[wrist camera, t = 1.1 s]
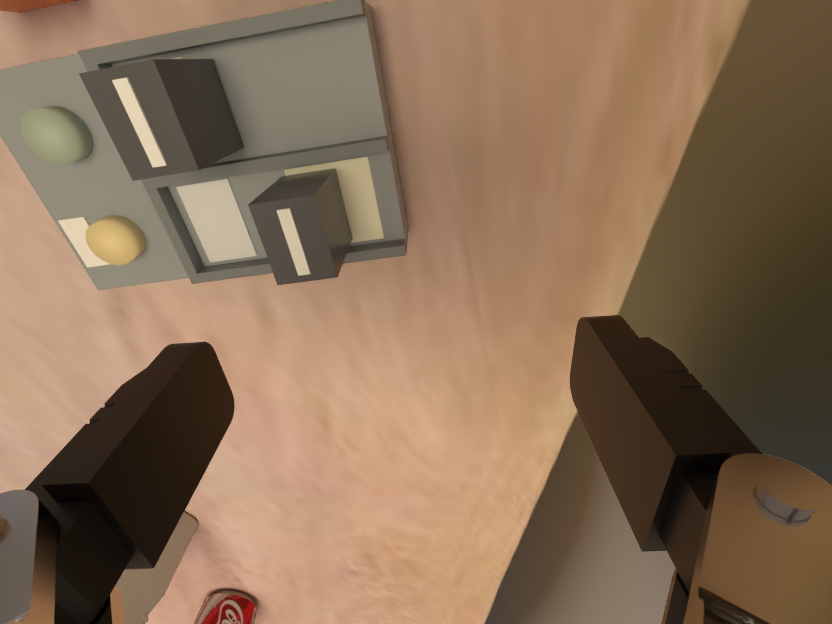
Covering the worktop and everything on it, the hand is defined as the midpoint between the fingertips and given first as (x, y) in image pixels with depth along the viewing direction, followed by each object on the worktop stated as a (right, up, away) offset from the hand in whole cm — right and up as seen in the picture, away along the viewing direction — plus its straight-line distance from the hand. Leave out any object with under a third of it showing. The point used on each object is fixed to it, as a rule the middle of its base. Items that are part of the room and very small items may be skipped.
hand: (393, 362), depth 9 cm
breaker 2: (-5, +7, +14) cm, 16 cm away
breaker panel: (-11, +10, +16) cm, 22 cm away
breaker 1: (-10, +11, +11) cm, 19 cm away
